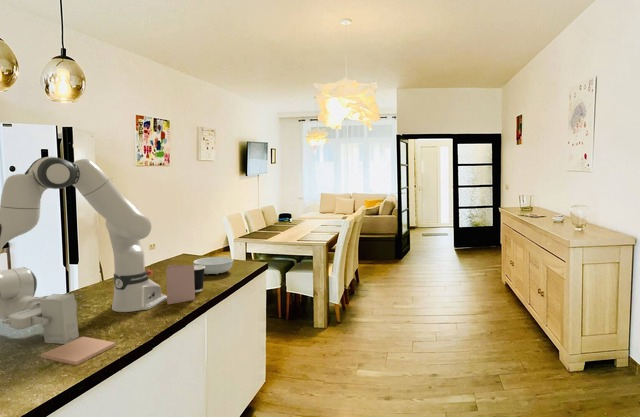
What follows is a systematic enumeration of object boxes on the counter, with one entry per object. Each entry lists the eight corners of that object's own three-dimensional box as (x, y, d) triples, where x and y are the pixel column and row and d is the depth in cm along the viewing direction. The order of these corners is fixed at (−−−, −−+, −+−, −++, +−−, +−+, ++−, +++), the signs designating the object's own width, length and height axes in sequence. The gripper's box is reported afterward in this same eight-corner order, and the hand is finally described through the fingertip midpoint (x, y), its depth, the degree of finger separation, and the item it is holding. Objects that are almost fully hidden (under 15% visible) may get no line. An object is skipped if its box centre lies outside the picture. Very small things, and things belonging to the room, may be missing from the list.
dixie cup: (209, 290, 191) (208, 267, 190) (193, 294, 185) (192, 270, 184) (200, 287, 196) (199, 264, 195) (184, 290, 191) (184, 267, 190)
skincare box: (79, 337, 137) (76, 294, 136) (64, 345, 131) (62, 299, 130) (57, 335, 139) (54, 292, 137) (42, 343, 133) (39, 298, 131)
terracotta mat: (82, 339, 136) (82, 336, 136) (115, 345, 131) (115, 342, 131) (41, 357, 123) (41, 354, 123) (76, 365, 118) (76, 361, 118)
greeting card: (195, 299, 178) (194, 264, 177) (189, 304, 171) (188, 269, 169) (169, 298, 178) (168, 264, 177) (162, 304, 171) (161, 268, 170)
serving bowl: (239, 269, 232) (239, 257, 231) (222, 278, 211) (222, 265, 211) (205, 267, 236) (205, 255, 236) (186, 276, 216) (185, 263, 215)
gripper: (-3, 311, 129) (28, 317, 124) (59, 293, 148) (88, 297, 143) (-1, 331, 129) (30, 337, 125) (60, 310, 148) (89, 315, 144)
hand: (61, 315), depth 134 cm, fingers open, 8 cm apart
